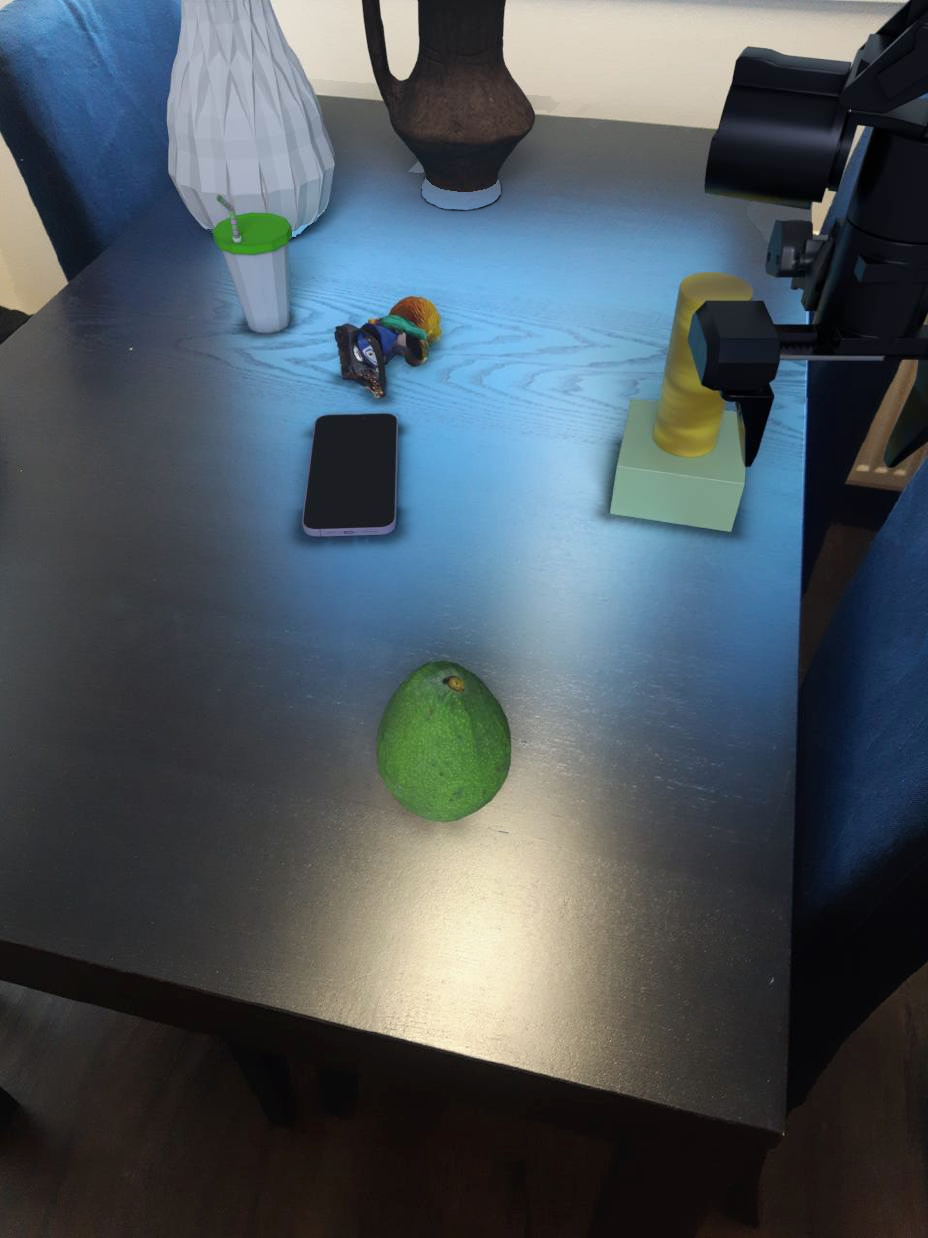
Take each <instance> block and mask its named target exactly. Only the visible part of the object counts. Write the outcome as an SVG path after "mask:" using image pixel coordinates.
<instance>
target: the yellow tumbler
mask: <svg viewBox="0 0 928 1238" xmlns="http://www.w3.org/2000/svg"><path fill="white" fill-rule="evenodd" d="M753 296H754V290H753V288H752V285H750V284H749V283H748V282H747V281H746V280H744V279H743V278H741V277H738V276H735V275H733V274H729V273H724V272H717V271H703V272H696V273H692V274H690V275H687V276H686V277H684V278H683V279H682V280H681V281H680V283H679V287H678V293H677V298H676V302H675V303H676V304H675V309H674V315H673V318H672V319H673V320H672V326H671V331H670V337H669V343H668V347H667V353H666V359H665V364H664V370H663V374H662V382H661V387H660V392H659V398H658V402H659V403H658V408H657V414H656V419H655V425H654V430H653V439H654V441H655V443H656V444H657V446H658V447H660V448H661V449H662V450H664V451H666V452H668V453H670V454H673V455H676V456H681V457H698V456H702V455H705V454H707V453H709V452H711V451H712V450H713V449H714V448H715V446H716V443H717V439H718V435H719V431H720V427H721V423H722V419H723V415H724V411H725V410H726V406H727V402H728V401H725V400H723V399H722V398H721V397H720V394H719V391H712V390H710V389H708V388H706V387H704V386H702V385H701V383H700V379H699V376H698V373H697V370H696V366H695V363H694V360H693V357H692V353H691V350H690V347H689V344H688V340H687V339H688V334H689V329H690V324H691V319H692V315H693V314H694V313H695V311H696V310H697V309H698V308H699V307H700V306H701V305H702V304H703V303H704V302H705V301H706V300H729V301H753Z"/></svg>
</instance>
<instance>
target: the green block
mask: <svg viewBox="0 0 928 1238" xmlns="http://www.w3.org/2000/svg"><path fill="white" fill-rule="evenodd" d="M658 403H659V400H658V401H657V400H651V399H643V398H642V399H641V398H634V397H631V398H630V402H629V406H628V409H627V417H626V420H625V425H624V430H623V435H622V440H621V444H620V449H619V453H618V458H617V463H616V469H615V475H614V483H613V488H612V496H611V503H610V509H609V514H610V515H616V516H622V517H627V518H628V517H629V518H636V519H642V520H648V521H654V522H662V523H669V524H674V525H682V526H689V527H695V528H701V529H708V530H715V531H722V532H727V533H731V532H732V531H733V527H734V524H735V520H736V517H737V513H738V510H739V507H740V503H741V499H742V495H743V493H744V489H745V485H746V470H747V469H746V468H747V467H745V466H744V464H743V461H742V457H741V448H740V440H739V431H738V423H737V414H736V410H727V409H725V411H724V415H723V419H722V423H721V427H720V431H719V435H718V439H717V443H716V446H715V448H714V449H713V450H712V451H711V452H709V453H707V454H705V455H702V456H698V457H681V456H676V455H673V454H670V453H668V452H666V451H664V450H662V449H661V448H660V447H658V446H657V444H656V443H655V441H654V439H653V430H654V425H655V419H656V414H657V408H658Z"/></svg>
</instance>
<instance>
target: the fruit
mask: <svg viewBox="0 0 928 1238" xmlns="http://www.w3.org/2000/svg"><path fill="white" fill-rule="evenodd" d="M375 738H376V739H375V745H376V746H375V749H376V750H375V754H376V761H377V762H376V763H377V767H378V773H379V775H380V777H381V778H382V781H383V782H384V784H385V786H386V788H387V789H388V791H389V793H390V794H391V796H392V797H393V799H394V800H395V801H396V802H398V804H399V805H400V806H401V807H403V808H404V809H405V810H406V811H408V812H410V813H412V814H414V815H416V816H418V817H420V818H422V819H424V820H427V821H433V822H440V823H447V822H448V823H449V822H455V821H459V820H462V819H464V818H466V817H468V816H470V815H472V814H475V813H476V812H479V811H481V810H482V808H484V807H485V806H487V805H488V804H489V803H491V802H492V801H493V800H494V798H495V797H496V795H497V794H498V793H499V792H500V790H501V789H502V788H503V785H504V783H506V780H507V778H508V776H509V771H510V769H511V765H512V734H511V729H510V725H509V720H508V717H507V715H506V713H505V711H504V709H503V707H502V705H501V703H500V701H499V700H498V699H497V697H495V695H494V694H493V692H492V691H491V690H490V689H489V687H488V686H487V685H486V684H485V682H484V681H483V680H482V679H481V678H480V677H478V675H476V674H475V673H474V672H473V671H470V670H469V669H467V668H465V667H464V666H462V665H461V664H459V663H458V662H454V661H449V660H436V661H430V662H424V663H423V664H421V665H420V666H418V667H416V668H415V669H414V670H412V671H411V672H410V673H409V674H408V675H407V677H405V679H404V680H403V681H402V682H401V683H400V685H399V686H398V687H397V689H395V691H394V692H393V693H392V695H391V697H390V698H389V699H388V702H387V704H386V706H385V707H384V710H383V713H382V716H381V718H380V721H379V724H378V728H377V733H376V737H375Z"/></svg>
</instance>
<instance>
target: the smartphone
mask: <svg viewBox="0 0 928 1238" xmlns="http://www.w3.org/2000/svg"><path fill="white" fill-rule="evenodd" d="M313 424H314V425H313V431H312V440H311V447H310V456H309V462H308V471H307V479H306V486H305V494H304V501H303V511H302V516H301V517H302V518H301V523H302V530H303V532H304V533H305V534H306V535H308V536H311V537H349V536H351V537H352V536H382V535H387V534H390V533H392V532H393V531H394V530H395V529H396V527H397V515H398V513H397V512H398V511H397V509H398V469H399V467H398V463H399V461H398V460H399V419H398V417H397V416H396V415H395V414H393V413H389V412H378V413H376V412H374V413H341V414H340V413H338V414H337V413H336V414H335V413H334V414H324V415H320V416H319V417H317V418H316V419H315V421H314V423H313Z"/></svg>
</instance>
